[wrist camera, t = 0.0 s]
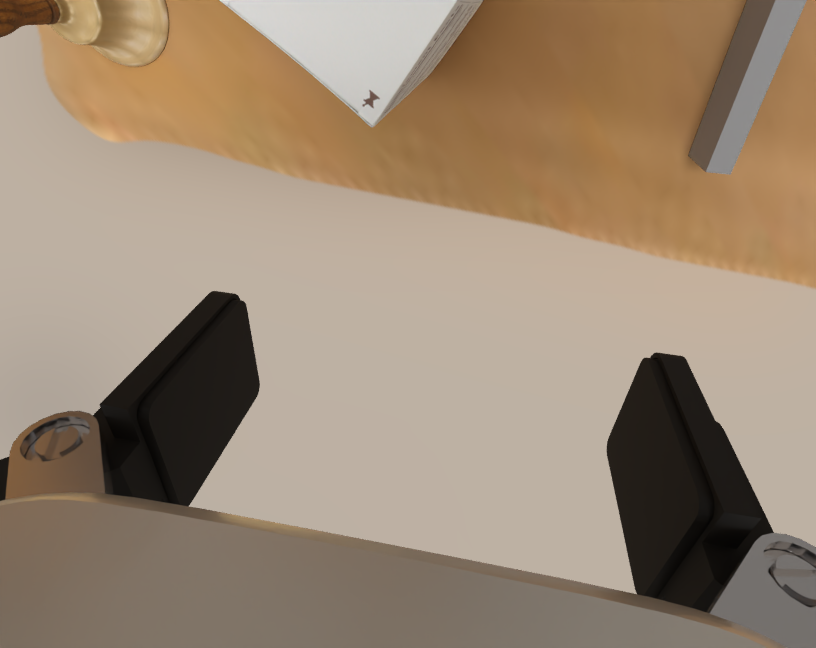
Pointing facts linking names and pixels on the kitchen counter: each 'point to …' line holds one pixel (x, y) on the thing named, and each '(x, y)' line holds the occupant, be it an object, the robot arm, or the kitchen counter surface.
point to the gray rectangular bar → (743, 81)
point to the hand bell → (97, 25)
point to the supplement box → (362, 43)
